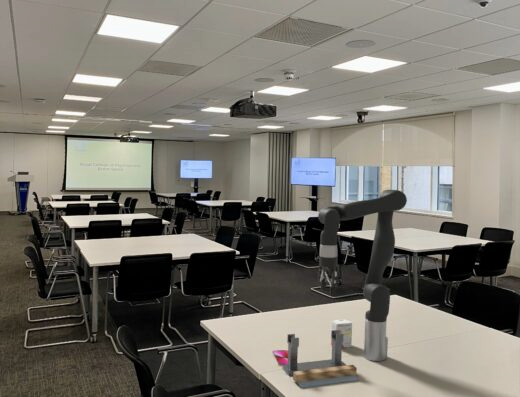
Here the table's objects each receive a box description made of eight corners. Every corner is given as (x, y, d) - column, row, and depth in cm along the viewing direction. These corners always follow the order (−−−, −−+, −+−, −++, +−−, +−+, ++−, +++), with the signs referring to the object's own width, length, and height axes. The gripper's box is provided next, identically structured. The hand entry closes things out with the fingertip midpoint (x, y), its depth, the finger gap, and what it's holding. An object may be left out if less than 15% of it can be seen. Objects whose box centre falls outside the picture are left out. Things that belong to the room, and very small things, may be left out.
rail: (352, 371, 179) (352, 364, 178) (356, 375, 176) (356, 367, 176) (293, 379, 171) (293, 371, 171) (296, 382, 168) (296, 374, 168)
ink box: (335, 348, 205) (336, 323, 205) (330, 344, 210) (331, 320, 209) (351, 347, 208) (352, 322, 207) (346, 343, 212) (347, 319, 212)
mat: (347, 371, 181) (347, 369, 181) (357, 380, 173) (357, 378, 173) (292, 377, 174) (292, 375, 174) (301, 387, 166) (301, 385, 166)
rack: (338, 361, 190) (339, 328, 189) (346, 368, 183) (347, 334, 183) (282, 368, 182) (283, 333, 182) (288, 375, 176) (289, 339, 175)
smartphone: (278, 365, 184) (271, 350, 199) (278, 367, 185) (271, 352, 199) (295, 364, 186) (287, 350, 200) (295, 366, 186) (287, 352, 200)
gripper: (344, 257, 182) (343, 296, 183) (328, 251, 195) (328, 288, 196) (328, 258, 179) (327, 297, 180) (313, 252, 193) (312, 289, 194)
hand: (327, 292), depth 188 cm, fingers open, 8 cm apart
